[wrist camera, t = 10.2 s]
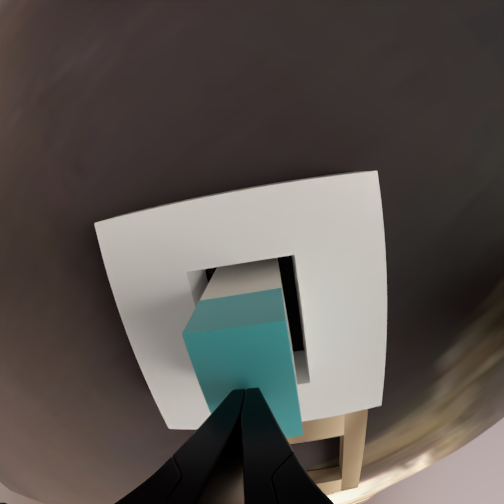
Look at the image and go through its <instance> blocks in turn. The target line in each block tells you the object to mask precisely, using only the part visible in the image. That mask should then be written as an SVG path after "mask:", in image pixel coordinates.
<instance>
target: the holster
mask: <svg viewBox="0 0 504 504" xmlns="http://www.w3.org/2000/svg"><path fill="white" fill-rule="evenodd" d="M367 415H368V409H365V410H361V411H357V412H352V413H348V414H343V415H338V416H333V417H328V418H322V419H316V420H310V421H304V422H302V427H303V435H302V436H295V437H288V438H287V440H288V442H289V444H293V443H301V442H308V441H314V440H320V439H326V438H331V437H336V436H340V457H339V466H337V467H332V468H326V469H321V470H314V471H308V472H307V473H308V475H309V476H310V477H311V479H312V480H313V481H314V482H315V484H316V485H317V486H318V487H319V488H320V489H321V490H322V492H323V493H324V494H327V493H333V492H338V491H343V490H348V489H352V488H357V487H358V484H359V478H360V472H361V465H362V458H363V451H364V443H365V435H366V425H367Z"/></svg>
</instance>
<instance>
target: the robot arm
mask: <svg viewBox="0 0 504 504" xmlns="http://www.w3.org/2000/svg"><path fill="white" fill-rule="evenodd" d="M0 504H6V503H0ZM115 504H334V503H333V502H332V501H331V500H330V499H329V498H328V497H327V496H326V495H325V494H324V493H323V492H322V490H321V489H320V488H319V487H318V486H317V485H316V484H315V482H314V481H313V480H312V479H311V477H310V476H309V475H308V473H307V472H306V470H305V469H304V467H303V466H302V464H301V463H300V461H299V459H298V458H297V456H296V454H295V453H294V451H293V449H292V447H291V445H290V444H289V442H288V440H287V438H286V437H285V435H284V433H283V431H282V429H281V428H280V426H279V424H278V422H277V420H276V418H275V417H274V415H273V413H272V411H271V409H270V407H269V405H268V403H267V402H266V400H265V398H264V396H263V394H262V392H261V390H260V388H258V387H255V388H247V389H246V390H245V389H234V390H232V391H231V392H230V393H229V394H228V395H227V396H226V398H225V399H224V400H223V401H222V402H221V403H220V405H219V406H218V407H217V408H216V409H215V410H214V411H213V412H212V414H211V415H210V416H209V417H208V418H207V419H206V420H205V421H204V423H203V424H202V425H201V426H200V427H199V428H198V429H197V430H196V431H195V432H194V434H193V435H192V436H191V437H190V438H189V439H188V440H187V441H186V442H185V443H184V444H183V445H182V446H181V447H180V448H179V450H178V451H177V452H176V453H175V454H174V455H173V457H171V458H170V459H169V460H168V461H167V462H166V463H165V464H164V465H163V466H162V467H161V468H160V469H159V470H158V471H156V472H155V473H154V474H153V475H152V476H151V477H150V478H148V479H147V480H146V481H145V482H143V483H142V484H141V485H140V486H138V487H137V488H136V489H134V490H133V491H132V492H130V493H129V494H127V495H126V496H125V497H123V498H122V499H120V500H119V501H118V502H116V503H115Z"/></svg>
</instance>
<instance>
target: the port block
mask: <svg viewBox="0 0 504 504" xmlns="http://www.w3.org/2000/svg"><path fill="white" fill-rule="evenodd" d="M94 225H95V229H96V234H97V238H98V242H99V246H100V250H101V254H102V257H103V261H104V265H105V268H106V272H107V275H108V279H109V282H110V285H111V289H112V292H113V295H114V298H115V301H116V304H117V307H118V310H119V313H120V316H121V319H122V322H123V325H124V327H125V330H126V333H127V336H128V338H129V341H130V344H131V346H132V349H133V351H134V354H135V356H136V359H137V361H138V364H139V366H140V368H141V371H142V373H143V375H144V378H145V380H146V382H147V384H148V387H149V389H150V391H151V393H152V395H153V398H154V400H155V402H156V404H157V406H158V408H159V410H160V412H161V414H162V416H163V418H164V420H165V422H166V424H167V426H168V428H169V429H198V428H199V427H200V426H201V425H202V424H203V423H204V421H205V420H206V419H207V418H208V417H209V416H210V415H211V413H210V410H209V408H208V405H207V403H206V400H205V398H204V395H203V393H202V390H201V387H200V385H199V382H198V379H197V377H196V374H195V371H194V368H193V365H192V363H191V360H190V357H189V354H188V351H187V348H186V345H185V342H184V339H183V336H182V333H183V331H184V329H185V327H186V325H187V323H188V321H189V319H190V317H191V315H192V314H193V312H194V310H195V308H196V306H197V304H198V302H199V300H200V298H201V297H202V295H203V293H204V291H205V289H206V287H207V285H208V280H207V276H206V271H205V269H208V268H215V267H221V266H227V265H234V264H240V263H246V262H253V261H259V260H265V259H272V258H278V257H284V256H290V255H291V257H292V263H293V270H294V277H295V284H296V291H297V299H298V306H299V314H300V322H301V330H302V338H303V346H304V350H301V351H295V352H293V355H294V363H295V370H296V378H297V386H298V394H299V402H300V410H301V419H302V422H304V421H310V420H316V419H322V418H328V417H333V416H338V415H343V414H348V413H352V412H357V411H361V410H365V409H369V408H373V407H377V406H381V404H382V395H383V385H384V373H385V358H386V338H387V272H386V251H385V236H384V224H383V213H382V204H381V195H380V187H379V179H378V172H377V171H359V172H349V173H341V174H333V175H325V176H318V177H311V178H304V179H297V180H291V181H284V182H278V183H272V184H266V185H260V186H254V187H248V188H243V189H237V190H232V191H227V192H221V193H216V194H211V195H206V196H201V197H196V198H192V199H187V200H182V201H177V202H173V203H168V204H164V205H160V206H155V207H151V208H147V209H142V210H138V211H134V212H130V213H126V214H122V215H119V216H116V217H112V218H109V219H106V220H102V221H99V222H96V223H94Z"/></svg>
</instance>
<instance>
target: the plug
mask: <svg viewBox="0 0 504 504" xmlns="http://www.w3.org/2000/svg"><path fill="white" fill-rule="evenodd" d="M182 336H183V339H184V342H185V345H186V348H187V351H188V354H189V357H190V360H191V363H192V365H193V368H194V371H195V374H196V377H197V379H198V382H199V385H200V387H201V390H202V393H203V395H204V398H205V400H206V403H207V405H208V408H209V410H210V413H211V414H212V412H213V411H214V410H215V409H216V408H217V407H218V406H219V405H220V403H221V402H222V401H223V400H224V399H225V398H226V396H227V395H228V394H229V393H230V392H231V391H232V390H234V389H245V390H246V389H247V388H255V387H258V388H260V390H261V392H262V394H263V396H264V398H265V400H266V402H267V403H268V405H269V407H270V409H271V411H272V413H273V415H274V417H275V418H276V420H277V422H278V424H279V426H280V428H281V429H282V431H283V433H284V435H285V437H286V438H288V437H295V436H302V435H303V427H302V419H301V410H300V402H299V394H298V386H297V378H296V370H295V363H294V355H293V348H292V341H291V335H290V328H289V322H288V316H287V310H286V304H285V298H284V292H283V286H282V281H281V275H280V269H279V263H278V258H272V259H265V260H259V261H253V262H246V263H240V264H234V265H227V266H221V267H217V269H216V270H215V272H214V274H213V276H212V278H211V280H210V282H209V283H208V285H207V287H206V289H205V291H204V293H203V295H202V297H201V298H200V300H199V302H198V304H197V306H196V308H195V310H194V312H193V314H192V315H191V317H190V319H189V321H188V323H187V325H186V327H185V329H184V331H183V333H182Z"/></svg>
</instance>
